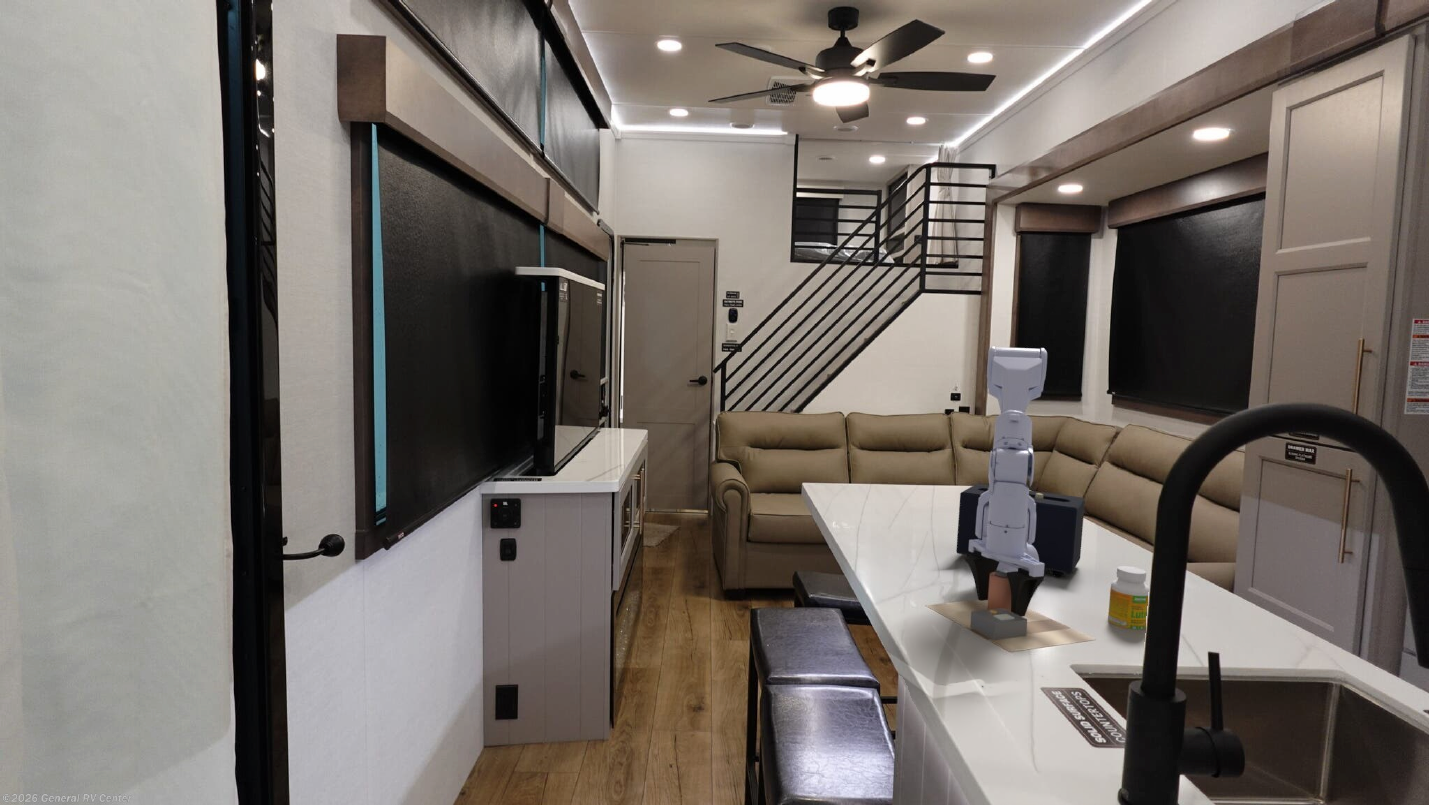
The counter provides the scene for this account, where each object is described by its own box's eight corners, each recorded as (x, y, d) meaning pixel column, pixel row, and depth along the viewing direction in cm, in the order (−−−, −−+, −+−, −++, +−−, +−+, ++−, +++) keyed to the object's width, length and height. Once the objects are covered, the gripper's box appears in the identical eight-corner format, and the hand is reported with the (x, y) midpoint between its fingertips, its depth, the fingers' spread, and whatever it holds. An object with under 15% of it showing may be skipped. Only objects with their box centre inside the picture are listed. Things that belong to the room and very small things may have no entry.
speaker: (1079, 566, 153) (1085, 493, 152) (1071, 582, 142) (1077, 504, 141) (970, 547, 165) (975, 479, 163) (955, 560, 154) (960, 488, 153)
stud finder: (1001, 623, 115) (1003, 606, 115) (1026, 636, 111) (1027, 618, 111) (970, 627, 113) (971, 610, 113) (993, 640, 109) (995, 622, 108)
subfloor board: (1002, 603, 128) (1003, 597, 128) (1095, 647, 111) (1096, 639, 110) (924, 612, 122) (925, 605, 122) (1009, 660, 105) (1010, 651, 105)
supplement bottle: (1131, 638, 115) (1137, 576, 114) (1099, 626, 119) (1104, 566, 119) (1153, 633, 117) (1159, 572, 116) (1121, 621, 122) (1126, 563, 121)
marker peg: (1001, 607, 123) (1004, 567, 122) (1019, 615, 119) (1022, 575, 119) (981, 609, 121) (984, 569, 121) (999, 618, 118) (1002, 577, 117)
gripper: (956, 514, 124) (950, 594, 126) (1021, 536, 111) (1014, 626, 112) (990, 512, 127) (984, 591, 128) (1057, 534, 114) (1050, 622, 115)
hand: (1000, 607), depth 120 cm, fingers open, 7 cm apart
